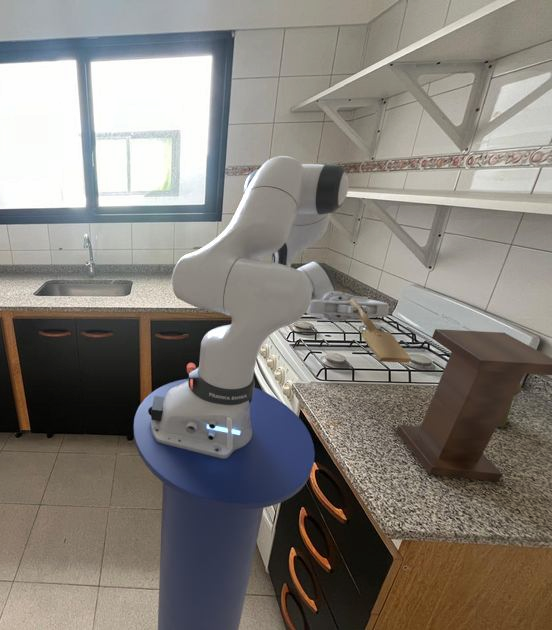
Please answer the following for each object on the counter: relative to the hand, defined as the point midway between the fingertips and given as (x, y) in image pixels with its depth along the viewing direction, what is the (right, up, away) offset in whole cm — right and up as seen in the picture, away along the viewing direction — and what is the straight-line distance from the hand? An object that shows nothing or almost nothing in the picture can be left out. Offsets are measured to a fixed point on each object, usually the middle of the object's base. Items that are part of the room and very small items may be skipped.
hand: (360, 310), depth 87 cm
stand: (+7, -31, -15) cm, 35 cm away
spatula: (-1, -5, -4) cm, 6 cm away
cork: (+27, -26, -5) cm, 38 cm away
